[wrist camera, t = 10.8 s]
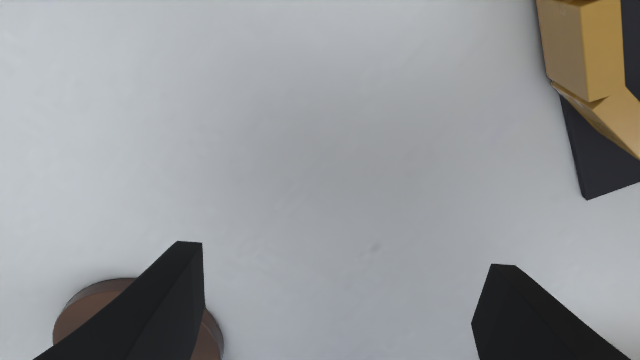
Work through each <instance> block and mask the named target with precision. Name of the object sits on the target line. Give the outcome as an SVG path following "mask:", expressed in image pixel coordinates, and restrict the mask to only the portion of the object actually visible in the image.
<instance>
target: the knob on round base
mask: <svg viewBox="0 0 640 360" xmlns="http://www.w3.org/2000/svg"><path fill="white" fill-rule="evenodd" d="M135 280H136V279H114V280H108V281H103V282H100V283H97V284H94V285H91V286H89V287H87V288H85V289H83V290H82V291H80V292H79V293H77V294H76V295H75V296H74V297H73V298H72V299H71V300H70V301H69V302H68V304H67V305H66V307H65V308H64V310H63V311H62V312H61V314H60V315H59V317H58V318H57V320H56V323H55V325H54V330H53V345H55V344H56V343H58V342H59V341H61V340H62V339H63V338H65V337H66V336H68V335H69V334H70V333H72V332H73V331H74V330H76V329H77V328H78V327H80V326H81V325H82V324H84V323H85V322H86V321H87V320H89V319H90V318H91V317H92V316H93V315H95V314H96V313H97V312H98V311H100V310H101V309H102V308H103V307H105V306H106V305H107V304H108V303H109V302H111V301H112V300H113V299H114V298H115V297H117V296H118V295H119V294H120V293H121V292H122V291H123V290H124V289H126V288H127V287H128V286H129V285H130V284H131V283H132V282H133V281H135ZM223 348H224V345H223V338H222V334H221V331H220V329H219V327H218V325H217V323H216V321H215V320H214V318H213V317H212V315H211V314H210V313H209V312H208V311H207V310H206V309H205V308H204V312H203V316H202V321H201V325H200V329H199V333H198V337H197V341H196V345H195V348H194V350H193V353H192V356H191V359H190V360H222V356H223Z"/></svg>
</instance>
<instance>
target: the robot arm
mask: <svg viewBox="0 0 640 360" xmlns="http://www.w3.org/2000/svg"><path fill="white" fill-rule="evenodd" d="M204 308H205V296H204V273H203V249H202V243H199V242H185V241H177V242H175V243H174V244H173V245H172V246H171V247H170V248H168V249H167V250H166V251H165V252H164V253H163V254H162V255H161V256H160V257H159V258H158V259H157V260H156V261H155V262H154V263H153V264H152V265H151V266H150V267H149V268H148V269H146V270H145V271H144V272H143V273H142V274H141V275H140V276H139V277H138V278H137V279H136V280H135V281H133V282H132V283H131V284H130V285H129V286H128V287H127V288H126V289H124V290H123V291H122V292H121V293H120V294H119V295H118V296H117V297H115V298H114V299H113V300H112V301H111V302H109V303H108V304H107V305H106V306H105V307H103V308H102V309H101V310H100V311H98V312H97V313H96V314H95V315H93V316H92V317H91V318H90V319H89V320H87V321H86V322H85V323H84V324H82V325H81V326H80V327H78V328H77V329H76V330H74V331H73V332H72V333H70V334H69V335H68V336H66V337H65V338H63V339H62V340H61V341H59V342H58V343H56V344H55V345H54V346H52V347H51V348H49V349H48V350H46V351H45V352H43V353H42V354H40V355H39V356H37V357H36V358H34V359H33V360H190V359H191V356H192V353H193V350H194V348H195V345H196V341H197V337H198V333H199V329H200V325H201V321H202V316H203V312H204ZM471 325H472V330H473V334H474V339H475V343H476V347H477V351H478V355H479V359H480V360H631V359H629V358H628V357H627V356H626V355H624V354H623V353H622V352H620V351H619V350H618V349H616V348H615V347H614V346H612V345H611V344H610V343H608V342H607V341H606V340H605V339H603V338H602V337H601V336H600V335H598V334H597V333H596V332H595V331H593V330H592V329H591V328H590V327H589V326H587V325H586V324H585V323H584V322H582V321H581V320H580V319H579V318H578V317H577V316H575V315H574V314H573V313H572V312H571V311H569V310H568V309H567V308H566V307H565V306H563V305H562V304H561V303H560V302H559V301H558V300H556V299H555V298H554V297H553V296H552V295H551V294H549V293H548V292H547V291H546V290H545V289H544V288H542V287H541V286H540V285H539V284H538V283H537V282H535V281H534V280H533V279H532V278H531V277H529V276H528V275H527V274H526V273H524V272H523V271H522V270H521V269H519V268H518V267H517V266H515V265H503V264H491V266H490V269H489V272H488V275H487V278H486V281H485V284H484V287H483V290H482V293H481V295H480V298H479V301H478V304H477V307H476V310H475V313H474V316H473V319H472V322H471Z"/></svg>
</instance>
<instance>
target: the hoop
mask: <svg viewBox="0 0 640 360" xmlns="http://www.w3.org/2000/svg"><path fill="white" fill-rule="evenodd" d="M536 3H537V10H538V17H539V24H540V32H541V39H542V46H543V53H544V60H545V67H546V74H547V77H548V78H550V79H551V80H553V81H552V82H551V83H550V84H551V85H552V86H553V87H554V88H555V89H556V90H557V91H558V92H559V93H560V94H561V95H562V96H563V97H564V98H565V99H566V100H567V101H568V102H569V103H570V104H571V105H572V106H573V107H574V108H575V109H576V110H577V111H578V112H579V113H580V114H581V115H582V116H583V117H584V118H585V119H586V120H587V121H588V122H589V123H590V124H591V125H592V126H593V127H594V128H595V129H596V130H597V131H598V132H599V133H601V134H602V135H604V136H605V137H606V138H608V139H609V140H611V141H612V142H614V143H615V144H616V145H618V146H619V147H621V148H622V149H624V150H625V151H626V152H628V153H629V154H631V155H632V156H634V157H635V158H636V159H638V160H639V161H640V102H639V100H638V99H637V98H636V97H635V96H634V95H633V94H632V93H631V92H630V91H629V90H628V89H627V87H626V86H625V73H624V55H623V37H622V20H621V2H620V0H536Z"/></svg>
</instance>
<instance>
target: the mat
mask: <svg viewBox="0 0 640 360" xmlns="http://www.w3.org/2000/svg"><path fill="white" fill-rule="evenodd" d="M620 2H621V20H622V37H623V55H624V73H625V86H626V87H627V89H628V90H629V91H630V92H631V93H632V94H633V95H634V96H635V97H636V98H637V99H638V100H639V102H640V0H620ZM559 95H560V99H561V104H562V108H563V113H564V117H565V121H566V126H567V130H568V134H569V139H570V143H571V148H572V152H573V156H574V161H575V165H576V170H577V174H578V178H579V183H580V187H581V191H582V196H583V197H584V198H585V199H586V200H590V199H593V198H596V197H598V196H601V195H604V194H607V193H610V192H612V191H615V190H618V189H621V188H624V187H626V186H629V185H632V184H635V183H638V182H640V161H639V160H638V159H636V158H635V157H634V156H632V155H631V154H629V153H628V152H626V151H625V150H624V149H622V148H621V147H619V146H618V145H616V144H615V143H614V142H612V141H611V140H609V139H608V138H606V137H605V136H604V135H602V134H601V133H599V132H598V131H597V130H596V129H595V128H594V127H593V126H592V125H591V124H590V123H589V122H588V121H587V120H586V119H585V118H584V117H583V116H582V115H581V114H580V113H579V112H578V111H577V110H576V109H575V108H574V107H573V106H572V105H571V104H570V103H569V102H568V101H567V100H566V99H565V98H564V97H563V96H562V95H561V94H560V93H559Z"/></svg>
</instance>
